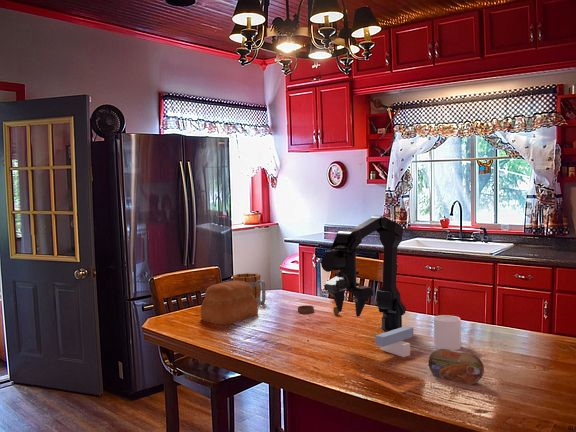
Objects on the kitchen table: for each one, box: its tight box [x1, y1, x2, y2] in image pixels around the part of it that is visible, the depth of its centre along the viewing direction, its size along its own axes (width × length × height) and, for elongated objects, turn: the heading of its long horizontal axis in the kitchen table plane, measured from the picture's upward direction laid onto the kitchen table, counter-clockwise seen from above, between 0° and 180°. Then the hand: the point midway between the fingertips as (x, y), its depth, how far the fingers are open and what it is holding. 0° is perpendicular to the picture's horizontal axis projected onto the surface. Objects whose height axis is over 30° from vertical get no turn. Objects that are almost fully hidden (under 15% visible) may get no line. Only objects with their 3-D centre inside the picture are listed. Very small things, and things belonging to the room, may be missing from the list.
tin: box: [428, 349, 485, 386], centre depth 143 cm, size 15×3×8 cm, turn 51°
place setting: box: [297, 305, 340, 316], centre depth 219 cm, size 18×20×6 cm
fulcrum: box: [380, 340, 411, 358], centre depth 166 cm, size 11×12×5 cm
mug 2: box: [432, 314, 462, 351], centre depth 172 cm, size 9×12×11 cm
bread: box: [200, 280, 259, 326], centre depth 217 cm, size 18×22×17 cm
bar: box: [374, 325, 414, 348], centre depth 166 cm, size 16×3×3 cm, turn 131°
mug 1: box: [231, 272, 267, 305], centre depth 244 cm, size 20×14×15 cm
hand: (348, 314), depth 174 cm, fingers open, 9 cm apart
